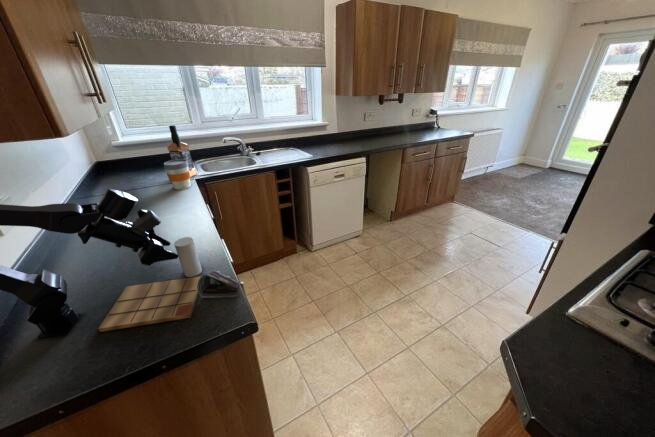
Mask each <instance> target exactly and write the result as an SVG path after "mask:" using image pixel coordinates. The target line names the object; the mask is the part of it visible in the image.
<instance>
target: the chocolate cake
mask: <svg viewBox="0 0 655 437" xmlns="http://www.w3.org/2000/svg"><path fill="white" fill-rule="evenodd" d="M200 276H201V277H200ZM200 276H199V277H200V279H199V281H198V285H197V289H198V297H200V298H202V299H208V298H209V299H215V298H216V299H217V298H236V297H238V296H239V293H240V290H239V286H240V284H239V282H238V281H237V280H235V279H232V278H231V276H230V275H225V274H222V273H221V271H220V270H216V269H215V270H214V269H213V270H211V271H210V272H209V273H208V274H205V273H202V272H201V273H200Z"/></svg>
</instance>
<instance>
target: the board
mask: <svg viewBox="0 0 655 437" xmlns="http://www.w3.org/2000/svg"><path fill="white" fill-rule="evenodd" d="M200 277H201V275H200V276H194V277H185V278H179V279H172V280H166V281H165V280H164V281H157V282H149V283H142V284H134V285H128V286H125V288H124V289H123V291H122V292H121V293H120V295H119V297H118V298H117V300H116V301H115V302H114V304H113V306H112V307H111V309H110V310H109V312H107V315H106V316H105V318H103V320H102V322H101V324H99V326H98V328H97V330H98V332H99V333H102V332H109V331H116V330H121V329H127V328H134V327H140V326H146V325H152V324H159V323H164V322H165V323H166V322H170V321H178V320H184V319H191V318H192V315H193V312H194V308H195V305H196V303H197V300H198V297H199V294H198V289H197V285H198V281H199V279H200Z"/></svg>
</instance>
